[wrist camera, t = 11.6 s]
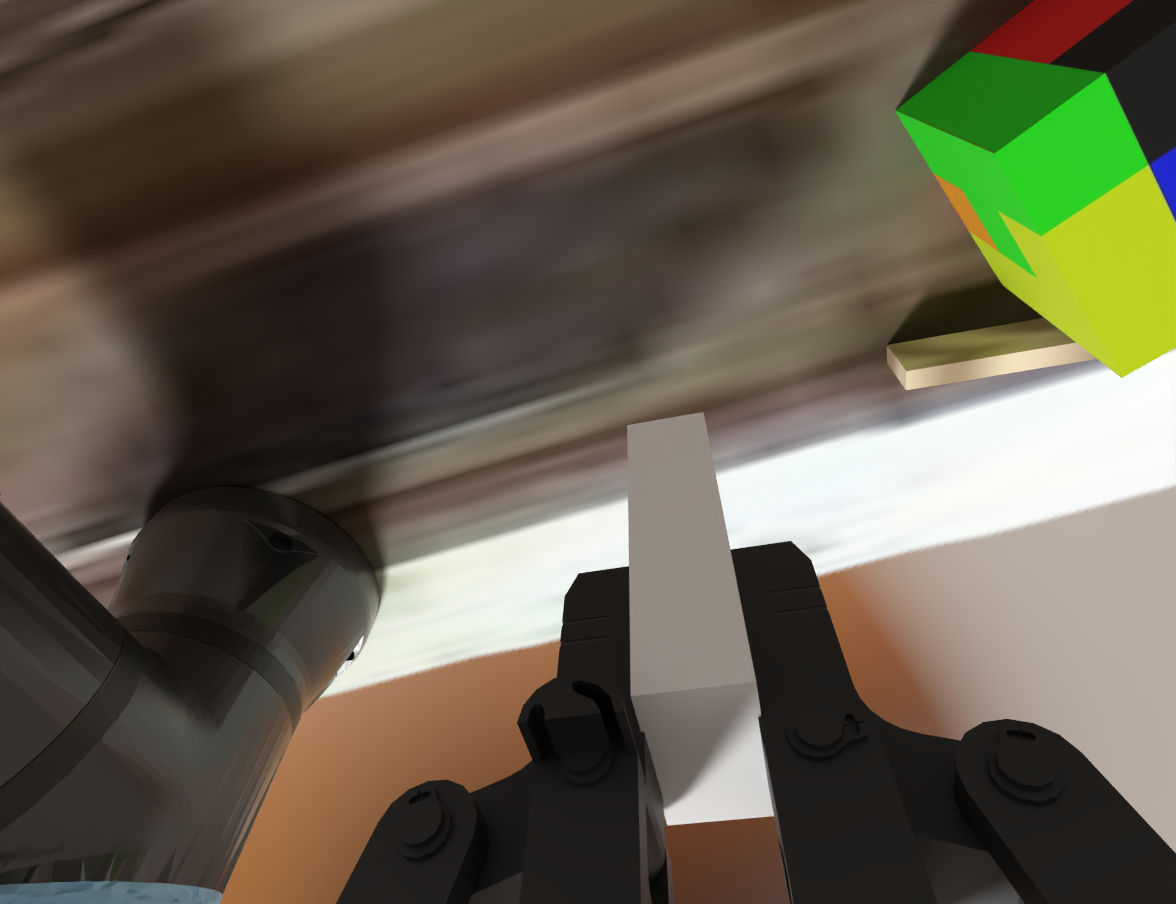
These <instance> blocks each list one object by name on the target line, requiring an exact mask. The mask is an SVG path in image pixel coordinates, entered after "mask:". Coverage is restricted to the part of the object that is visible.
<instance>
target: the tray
mask: <svg viewBox="0 0 1176 904" xmlns="http://www.w3.org/2000/svg"><path fill="white" fill-rule="evenodd" d="M1092 359H1097V358H1096V357H1094V356H1093V355H1092V354H1090V353H1089V352H1088V351H1087V350H1085V349H1084V348H1083V347H1081V346H1080V345H1079V344H1078V343H1076V342H1075V341H1074V340H1072V339H1071V338H1070V337H1069V336H1067V335H1066V334H1065V333H1063V332H1062V331H1061V330H1060V329H1058V328H1057V327H1056V326H1054V325H1053V324H1052V323H1051V322H1049V321H1048V320H1047V319H1045V318H1039V319H1033V320H1027V321H1022V322H1016V323H1010V324H1005V325H999V326H993V327H987V328H982V329H976V330H970V331H965V332H959V333H953V334H947V335H942V336H936V337H930V338H925V339H919V340H913V341H908V342H902V343H896V344H890V345H887V364H888V365H889V366H890V368H891V369H892V371H893V372H894V374H895V375H896V376H897V378H898V379H899V381H900V382H901V384H902V385H903V386H904V388H905V389H906V390H910V389H916V388H922V387H928V386H934V385H940V384H946V383H953V382H959V381H965V380H971V379H977V378H983V377H989V376H995V375H1001V374H1007V373H1013V372H1019V371H1025V370H1031V369H1037V368H1043V367H1049V366H1055V365H1062V364H1068V363H1074V362H1080V361H1086V360H1092Z"/></svg>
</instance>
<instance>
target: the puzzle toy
mask: <svg viewBox="0 0 1176 904" xmlns="http://www.w3.org/2000/svg"><path fill="white" fill-rule="evenodd" d="M895 112H896V113H897V115H898V116H899V118H900V120H901V121H902V123H903V125H904V126H905V128H906V129H907V131H908V133H909V134H910V136H911V138H912V139H913V141H914V142H915V144H916V146H917V147H918V149H919V151H920V152H921V154H922V155H923V157H924V159H925V160H926V162H927V164H928V165H929V167H930V168H931V170H932V172H933V173H934V175H935V177H936V178H937V180H938V181H939V183H940V185H941V186H942V188H943V190H944V191H945V193H946V195H947V196H948V198H949V199H950V201H951V203H952V204H953V206H954V208H955V209H956V211H957V212H958V214H959V216H960V217H961V219H962V221H963V222H964V224H965V225H966V227H967V229H968V230H969V232H970V234H971V235H972V237H973V238H974V240H975V242H976V243H977V245H978V247H979V248H980V250H981V251H982V253H983V255H984V256H985V258H986V260H987V261H988V263H989V264H990V266H991V268H992V269H993V271H994V273H995V274H996V276H997V278H998V279H999V281H1000V282H1001V284H1002V285H1003V286H1004V287H1006V288H1007V289H1008V290H1009V291H1011V292H1012V293H1013V294H1015V295H1016V296H1017V297H1018V298H1020V299H1021V300H1022V301H1024V302H1025V303H1026V304H1027V305H1029V306H1030V307H1031V308H1033V309H1034V310H1035V311H1036V312H1038V313H1039V314H1040V315H1042V316H1043V317H1044V318H1045V319H1047V320H1048V321H1049V322H1051V323H1052V324H1053V325H1054V326H1056V327H1057V328H1058V329H1060V330H1061V331H1062V332H1063V333H1065V334H1066V335H1067V336H1069V337H1070V338H1071V339H1072V340H1074V341H1075V342H1076V343H1078V344H1079V345H1080V346H1081V347H1083V348H1084V349H1085V350H1087V351H1088V352H1089V353H1090V354H1092V355H1093V356H1094V357H1096V358H1097V359H1098V360H1099V361H1101V362H1102V363H1103V364H1105V365H1106V366H1107V367H1108V368H1110V369H1111V370H1112V371H1114V372H1115V373H1116V374H1117V375H1119V376H1120V377H1121V378H1122V377H1124V376H1126V375H1128V374H1129V373H1131V372H1133V371H1135V370H1137V369H1138V368H1140V367H1142V366H1144V365H1145V364H1147V363H1149V362H1151V361H1153V360H1154V359H1156V358H1158V357H1160V356H1161V355H1163V354H1165V353H1167V352H1169V351H1170V350H1172V349H1174V348H1176V0H1034V1H1032V2H1031V3H1030V4H1029V5H1027V6H1026V7H1025V8H1024V9H1022V10H1021V11H1020V12H1019V13H1017V14H1016V15H1015V16H1014V17H1012V18H1011V19H1010V20H1009V21H1007V22H1006V23H1005V24H1003V25H1002V26H1001V27H1000V28H998V29H997V30H996V31H995V32H993V33H992V34H991V35H990V36H988V37H987V38H986V39H985V40H983V41H982V42H981V43H980V44H978V45H977V46H976V47H975V48H973V49H972V50H971V51H970V52H968V53H967V54H966V55H965V56H963V57H962V58H961V59H960V60H958V61H957V62H956V63H954V64H953V65H952V66H951V67H949V68H948V69H947V70H946V71H944V72H943V73H942V74H941V75H939V76H938V77H937V78H936V79H934V80H933V81H932V82H931V83H929V84H928V85H927V86H926V87H924V88H923V89H922V90H921V91H919V92H918V93H917V94H916V95H914V96H913V97H912V98H911V99H909V100H908V101H907V102H905V103H904V104H903V105H902V106H900V107H899V108H898V109H897V110H895Z"/></svg>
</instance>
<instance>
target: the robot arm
mask: <svg viewBox="0 0 1176 904" xmlns="http://www.w3.org/2000/svg"><path fill="white" fill-rule="evenodd" d="M627 426H628V511H629V566H628V567H621V568H614V569H607V570H600V571H593V572H586V573H579V574H578V576H577V577H576V579H575V581H574V582H573V584H572V586H571V587H570V589H569V590H568V592H567V594H566V595H565V599H564V610H563V620H562V622H563V626H562V630H561V640H560V642H561V647H560V651H559V661H558V671H557V678H554V679H553V680H551V681H549V682H548V683H546V684H544V685H543V686H541V687H540V688H538V689H537V690H536V691H535V692H534V693H533V694H532V696H531V697H530V698H529V699H528V700H527V701H526V703H525V704H524V705H523V708H522V711H521V713H520V716H519V719H518V722H517V724H518V726H519V729H520V731H521V733H522V736H523V738H524V740H525V743H526V745H527V748H528V750H529V752H530V755H531V757H532V761H531V762H530V763H528V764H527V765H526V766H525V767H524V768H522V769H521V770H520V771H518V772H516V773H514V774H512V775H511V776H509V777H507V778H505V779H502V780H500V781H498V782H495V783H493V784H491V785H488V786H486V787H484V788H481V789H479V790H477V791H474V792H472V793H469V792H468V791H467V790H466V789H465V787H464V786H462V785H460V784H457V783H454V782H452V781H449V780H437V781H428V782H425V783H423V784H420V785H418V786H416V787H413V788H411V789H409V790H408V791H406V792H405V793H404V794H403V795H401V796H400V797H399V798H398V799H397V800H395V801H394V802H393V803H392V804H391V805H390V807H389V808H388V809H387V811H386V812H385V814H384V815H383V816H382V818H381V819H380V821H379V822H378V824H377V826H376V828H375V830H374V832H373V834H372V836H371V837H370V839H369V842H368V843H367V845H366V847H365V849H364V851H363V853H362V855H361V857H360V859H359V860H358V862H357V864H356V866H355V868H354V870H353V872H352V874H351V876H350V878H349V880H348V882H347V883H346V885H345V887H344V889H343V891H342V893H341V895H340V897H339V899H338V901H337V903H336V904H674V897H673V880H672V868H671V864H670V860H669V856H668V852H667V849H666V845H665V825H664V814H665V818H666V821H667V825H677V824H688V823H699V822H711V821H722V820H733V819H745V818H756V817H767V816H774V818H775V824H776V829H777V834H778V840H779V847H780V854H781V859H782V867H783V873H784V880H785V887H786V891H787V893H788V899H789V904H1176V853H1175V852H1174V851H1173V850H1172V849H1171V848H1170V847H1169V846H1168V845H1167V844H1166V843H1165V841H1164V840H1163V839H1162V838H1161V837H1160V836H1159V835H1158V834H1157V833H1156V832H1155V831H1154V830H1153V829H1152V828H1151V826H1150V825H1149V824H1148V823H1147V822H1146V821H1145V820H1144V819H1143V818H1142V817H1141V816H1140V815H1139V814H1138V813H1137V811H1136V810H1135V809H1134V808H1133V807H1132V806H1131V805H1130V804H1129V803H1128V802H1127V801H1126V800H1125V799H1124V798H1123V797H1122V795H1121V794H1120V793H1119V792H1118V791H1117V790H1116V789H1115V788H1114V787H1113V786H1112V785H1111V784H1110V783H1109V781H1108V780H1107V779H1106V778H1105V777H1104V776H1103V775H1102V774H1101V773H1100V772H1099V771H1098V770H1097V769H1096V768H1095V767H1094V765H1093V764H1092V763H1091V762H1090V761H1089V760H1088V759H1087V758H1086V757H1085V756H1084V755H1083V754H1082V753H1081V752H1080V751H1079V750H1078V749H1076V748H1075V747H1074V746H1073V745H1071V744H1070V743H1069V742H1068V741H1066V740H1065V739H1064V738H1063V737H1061V736H1060V735H1058V734H1056V733H1054V732H1052V731H1050V730H1047V729H1045V728H1043V727H1041V726H1038V725H1036V724H1034V723H1028V722H1022V721H1016V720H1010V719H1003V720H996V721H989V722H983V723H982V724H979V725H978V726H976V727H974V728H973V729H971V730H969V731H968V732H966V733H965V734H964V736H963V738H962V740H961V741H959V740H954V739H948V738H942V737H937V736H931V735H925V734H920V733H916V732H912V731H908V730H905V729H901V728H899V727H897V726H895V725H893V724H891V723H889V722H886V721H885V720H883V719H882V718H881V717H879V716H878V715H876V714H875V713H874V712H872V711H871V710H870V709H869V708H868V707H867V706H866V704H865V703H864V702H863V701H862V700H861V699H860V697H859V695H858V693H857V691H856V690H855V687H854V685H853V683H852V680H851V677H850V674H849V671H848V668H847V665H846V662H845V659H844V656H843V653H842V650H841V647H840V644H839V641H838V638H837V635H836V632H835V630H834V627H833V623H832V620H831V618H830V615H829V612H828V610H827V607H826V603H825V600H824V597H823V594H822V591H821V590H820V585H819V582H818V579H817V576H816V573H815V570H814V567H813V564H812V561H811V560H810V559H809V558H808V557H807V556H806V555H805V554H804V553H803V552H802V551H801V550H800V549H799V548H798V547H797V546H796V545H795V544H793V543H792V542H791V541H788V542H781V543H774V544H767V545H760V546H753V547H746V548H739V549H732V550H730V546H729V541H728V536H727V531H726V526H725V521H724V515H723V510H722V505H721V500H720V495H719V490H718V485H717V480H716V475H715V470H714V465H713V460H712V455H711V449H710V444H709V439H708V434H707V429H706V424H705V419H704V414H703V412H702V413H696V414H690V415H684V416H679V417H673V418H667V419H661V420H656V421H650V422H644V423H638V424H632V425H627ZM0 495H1V494H0ZM378 607H379V593H378V586H377V582H376V579H375V576H374V573H373V571H372V569H371V567H370V565H369V563H368V561H367V559H366V558H365V556H364V555H363V553H362V552H361V551H360V549H359V548H358V547H357V545H356V544H355V543H354V542H353V541H352V540H351V539H350V538H349V537H348V536H347V535H346V534H345V533H344V532H343V531H342V530H341V529H340V528H339V527H337V526H336V525H335V524H334V523H332V522H331V521H330V520H328V519H327V518H325V517H324V516H322V515H321V514H319V513H317V512H316V511H314V510H312V509H310V508H309V507H307V506H305V505H303V504H301V503H298V502H296V501H294V500H291V499H289V498H286V497H283V496H281V495H277V494H274V493H271V492H267V491H262V490H257V489H252V488H244V487H212V488H205V489H200V490H196V491H192V492H189V493H186V494H184V495H181V496H179V497H177V498H175V499H174V500H172V501H170V502H169V503H167V504H166V505H165V506H163V507H162V508H161V509H160V510H159V511H158V512H157V513H156V514H155V516H154V517H153V518H152V519H151V520H150V521H149V522H148V523H147V524H146V525H145V526H144V528H143V529H142V530H141V531H140V532H139V533H138V534H137V536H136V537H135V539H134V540H133V542H132V544H131V546H130V547H129V549H128V552H127V555H126V559H125V562H124V565H123V572H122V576H121V579H120V581H119V583H118V586H117V588H116V591H115V593H114V596H113V598H112V601H111V603H110V606H109V609H108V610H107V609H106V608H105V607H104V606H103V605H102V604H101V603H100V602H99V601H98V600H97V599H96V598H95V597H94V596H93V595H92V594H91V593H90V592H88V591H87V590H86V589H85V588H84V587H83V586H82V585H81V584H80V583H79V581H78V580H77V579H76V578H75V577H74V576H73V575H72V574H71V573H70V572H69V571H68V570H67V569H66V568H65V567H64V566H63V565H62V564H61V563H60V562H59V561H58V560H57V559H56V558H55V557H54V556H53V555H52V554H51V553H50V552H49V551H48V550H47V549H46V548H45V547H44V546H43V545H42V544H41V543H40V542H39V541H38V540H37V539H36V537H35V536H34V535H33V534H32V533H31V532H30V531H29V530H28V529H27V528H26V527H25V526H24V525H23V524H22V523H21V522H20V521H19V520H18V519H17V518H16V517H15V516H14V515H13V514H12V513H11V512H10V511H9V510H8V509H7V508H6V507H5V506H4V505H3V504H2V503H1V502H0V904H220V902H221V898H222V897H223V896H222V894H223V892H224V890H225V887H226V885H227V883H228V881H229V878H230V876H231V874H232V872H233V869H234V867H235V865H236V863H237V860H238V858H239V856H240V853H241V851H242V849H243V847H244V844H245V842H246V840H247V838H248V835H249V833H250V831H251V829H252V826H253V824H254V822H255V820H256V817H257V815H258V813H259V810H260V808H261V806H262V803H263V801H264V799H265V797H266V795H267V792H268V790H269V788H270V786H271V783H272V781H273V779H274V776H275V774H276V772H277V770H278V767H279V765H280V763H281V761H282V758H283V756H284V754H285V751H286V749H287V747H288V745H289V742H290V739H291V737H292V735H293V733H294V731H295V729H296V727H297V725H298V723H299V721H300V718H301V716H302V715H303V714H304V712H305V711H306V710H307V709H308V708H309V707H310V706H311V705H312V704H313V703H314V702H315V701H316V700H317V699H318V698H319V697H320V696H321V695H322V694H323V692H324V691H325V690H326V689H327V688H328V687H329V685H330V684H331V683H332V682H333V680H334V679H335V677H336V676H337V675H339V674H340V673H342V672H343V671H344V670H345V669H346V668H347V667H348V666H350V664H351V663H352V662H353V661H354V660H355V659H356V658H357V656H358V655H359V653H360V652H361V650H362V649H363V647H364V645H365V643H366V641H367V638H368V636H369V634H370V631H371V629H372V626H373V624H374V622H375V619H376V616H377V612H378Z"/></svg>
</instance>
